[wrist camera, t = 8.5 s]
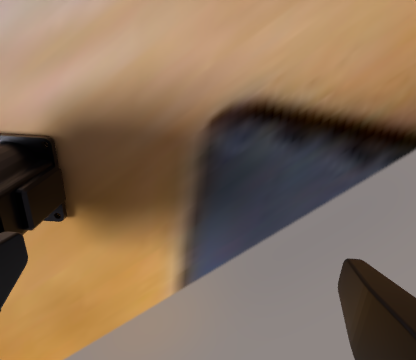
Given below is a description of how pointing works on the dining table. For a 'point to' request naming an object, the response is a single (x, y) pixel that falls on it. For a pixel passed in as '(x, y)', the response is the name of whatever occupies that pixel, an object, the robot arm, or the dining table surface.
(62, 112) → the dining table surface
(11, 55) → the dining table surface
